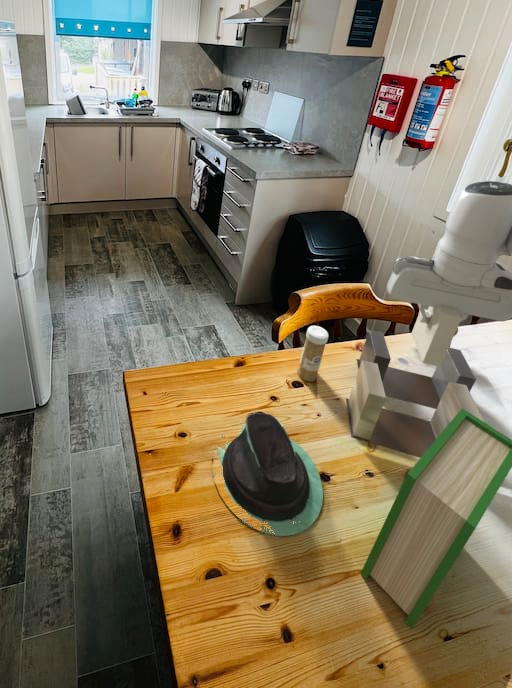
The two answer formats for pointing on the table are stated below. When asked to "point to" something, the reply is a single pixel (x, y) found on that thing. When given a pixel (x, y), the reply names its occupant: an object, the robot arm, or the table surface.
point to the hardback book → (438, 511)
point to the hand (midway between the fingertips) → (435, 324)
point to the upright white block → (436, 334)
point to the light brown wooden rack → (400, 414)
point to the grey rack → (414, 384)
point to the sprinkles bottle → (312, 353)
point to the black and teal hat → (271, 476)
